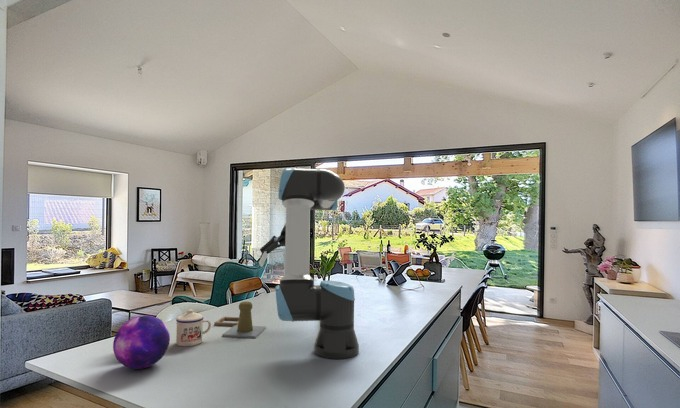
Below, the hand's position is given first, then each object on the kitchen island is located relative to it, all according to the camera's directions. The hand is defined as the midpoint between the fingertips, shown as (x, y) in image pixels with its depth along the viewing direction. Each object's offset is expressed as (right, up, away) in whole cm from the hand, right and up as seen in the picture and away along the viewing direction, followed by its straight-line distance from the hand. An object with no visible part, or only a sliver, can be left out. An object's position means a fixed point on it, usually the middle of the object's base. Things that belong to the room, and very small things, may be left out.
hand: (274, 265), depth 165 cm
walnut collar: (-18, -24, -2) cm, 30 cm away
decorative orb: (-31, -22, -51) cm, 64 cm away
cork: (-9, -23, -15) cm, 29 cm away
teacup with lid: (-24, -23, -28) cm, 43 cm away
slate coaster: (-9, -24, -15) cm, 29 cm away
